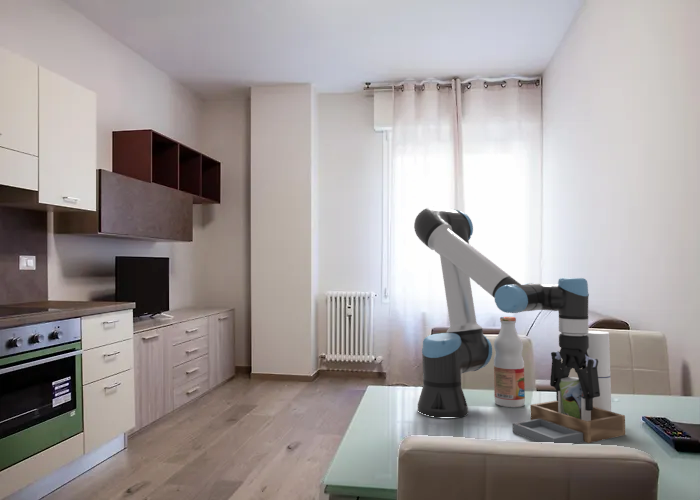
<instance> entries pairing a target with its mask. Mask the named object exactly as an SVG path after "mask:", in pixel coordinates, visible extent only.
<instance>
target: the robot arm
mask: <svg viewBox="0 0 700 500" xmlns="http://www.w3.org/2000/svg"><path fill="white" fill-rule="evenodd" d="M413 228H414V233H415V235H416V236H417V238H418V239H419V241H421V243H422V244H424V245H425V246H426V247H427V248H429V249H430V250H432V251H434V252H435V253H437V254H438V255H439V257H440V264H441V265H440V266H441V272H442V280H443V284H444V285H443V286H444V293H445V299H446V307H447V313H448V318H449V319H448V320H449V328H448V329H447V330H446V332H441V333H433V334H430V335H428V336H426V337H425V338H424V339H423V340H422V350H421V353H422V388H421V392H420V395H419V399H418V401H417V412H418V411H419V412H421V413H423V414H426V415H429V416H434V417H460V418H462V417H461V416H463V417H465V415H466V416H467V415H468V414H467V413H469V411H468V409H469V407H468V403H467V400H466V397H465V394H464V390H463V388H462V374H464V373H465V374H466V373H469V372H475V371H479V370H481V369H483V368H484V367H486V366H488V364H489V363H490V361H491V359H492V356H493V345H492V343H491V340H490V339H489V338H487V336H486V335H485V334H484V331H483V327H482V326H481V325H480V324H479V323H478V322H477V317H476V310H475V306H474V298H473V291H472V285H471V280H472V281H474V283H476V284H477V285H478V286H479V287H481V289H483V290H484V291H486V292H487V294H489V295H490V296H491V297H493V298H494V303H495V305H496V307H497V308H498V309H499V311H501V312H504V313H507V314H509V313H510V314H518V313H523V312H533V311H554V312H558V332H559V335H558V346H559V348H560V350H559V351H552V352H551V353H550V355H551V360H552V361H551V373H550V382H549V385H550V387H553V388H555V390H556V392H555V393H556V395H555V396H556V401H558V412H559V413H562V414H564V409H563V403H562V397H561V391H560V385H559V384H560V382H561V379H562V378H566V377H570V373H571V370H572V369H574V372H575V373H576V374H577V377H578V378H579V381H580V385H581V388H582V391H583V395H584V397H582V398H581V419H582V420H585V421H590V420H591V410H593V398H594V397H599V396H600V390H599V381H598V372H597V366H598V360H597V359H592V358H590V357H589V356H588V353H587V350H588V348H589V337H588V335H586V334H587V333H588V331H589V295H590V293H589V285H588V280H587V279H586V278H584V277H583V278H582V277H560V278H558V281H557V284H551V283H550V284H548V283H534V282H529V283H520V282H518V281H517V280H516V279H515V278H513V277H512V276H511V275H509V274H508V273H507V272H506V271H504V270H503V269H502V268H500V267H499V266H498V265H497V264H496V263H494V262H493V261H492V260H490V259H489V258H487V256H485V255H484V254H483V253H482V252H480V251H478V250H477V249H476V248H475V247H474V246H473V245H471V244H470V240H471V238H472V235H473V233H474V225H473V222H472V219H471V217H470V216H469V215H468V214H466V213H465V212H463V211H460V210H458V209H455V208H454V209H453V208H451V209H450V208H442V207H435V206H433V207H426V208H425V209H422V210H421V211H420V212H419V213H418V214H417V215H416V218H415V219H414V227H413ZM586 362H587V363H586ZM586 365H587V366H586ZM419 412H418V413H419Z"/></svg>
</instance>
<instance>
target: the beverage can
mask: <svg viewBox="0 0 700 500" xmlns="http://www.w3.org/2000/svg"><path fill="white" fill-rule="evenodd" d="M559 385H560V391H561V397H562V403H563V409H564V414H566V415H569V416H572V417H575V418H578V419H581V398H582V397H584V395H583V391H582V388H581V385H580V381H579V378H578V376H568V377H566V378H562V379H561V382H560V384H559Z"/></svg>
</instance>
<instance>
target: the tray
mask: <svg viewBox="0 0 700 500" xmlns="http://www.w3.org/2000/svg"><path fill="white" fill-rule="evenodd" d="M512 432H513V433H515V434H517V435H520V436H522V437H525V438H527V439H529V440H531V441H532V440H533V441H534V442H537V443H539V442H554V443H577V444H581V443H584V441H583V433H582V432H579V431H576V430H573V429H570V428H567V427H564V426H561V425H558V424H556V423H553V422H550V421H547V420H544V419H541V418H539V419H533V420H531V419H527V420H522V421H517V422H512Z"/></svg>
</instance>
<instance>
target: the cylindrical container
mask: <svg viewBox="0 0 700 500" xmlns="http://www.w3.org/2000/svg"><path fill="white" fill-rule="evenodd" d="M586 335H588V337H589V348H588V350H587V353H588V356H589V357H590V358H592V359H597V360H598V366H597V372H598V381H599V390H600V396H599V397H594V398H593V407H596V408H600V409H603V410H607V411H610V412H612V387H611V385H612V383H611V382H612V381H611V380H612V379H611V352H610V351H611V347H610V344H611V343H610V342H611V341H610V332H609V331H604V330H603V331H602V330H601V331H600V330H588V333H587V334H586ZM586 363H587V362H586ZM586 366H587V365H586Z"/></svg>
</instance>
